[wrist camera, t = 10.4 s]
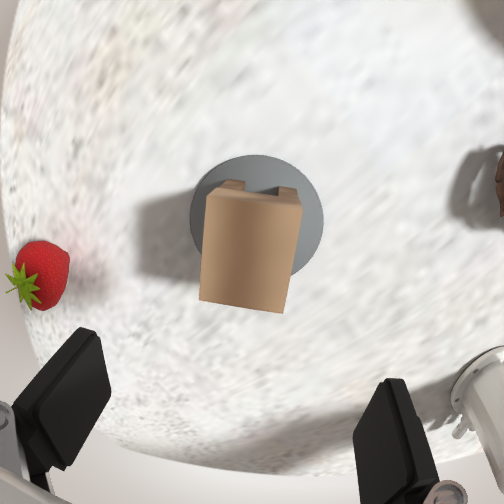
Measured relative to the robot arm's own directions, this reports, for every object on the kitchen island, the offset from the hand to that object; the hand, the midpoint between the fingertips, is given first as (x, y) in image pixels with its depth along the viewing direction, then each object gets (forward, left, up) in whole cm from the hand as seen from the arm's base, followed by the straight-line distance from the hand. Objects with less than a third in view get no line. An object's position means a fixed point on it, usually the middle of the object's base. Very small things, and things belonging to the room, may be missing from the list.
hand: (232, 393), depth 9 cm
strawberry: (-7, +22, -21) cm, 31 cm away
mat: (0, +1, -21) cm, 20 cm away
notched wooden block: (0, +1, -20) cm, 20 cm away
